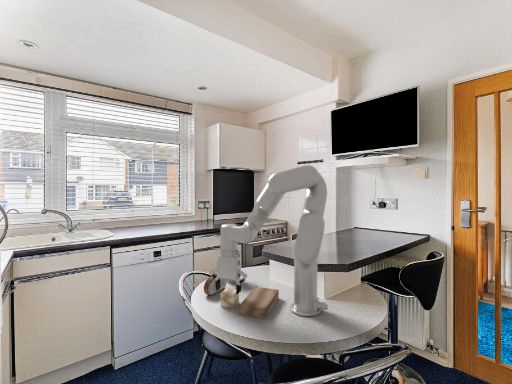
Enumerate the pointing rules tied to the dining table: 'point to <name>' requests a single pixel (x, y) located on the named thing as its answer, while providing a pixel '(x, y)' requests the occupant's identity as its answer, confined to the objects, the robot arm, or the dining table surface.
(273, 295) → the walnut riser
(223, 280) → the tin
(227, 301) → the birch cube
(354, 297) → the dining table surface
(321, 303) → the robot arm
